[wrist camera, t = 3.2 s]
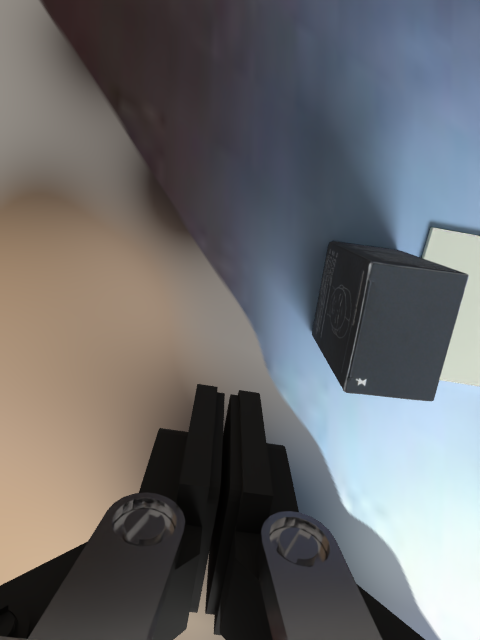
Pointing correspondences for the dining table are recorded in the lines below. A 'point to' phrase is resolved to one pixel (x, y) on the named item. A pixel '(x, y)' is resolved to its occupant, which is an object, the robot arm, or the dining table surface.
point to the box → (386, 320)
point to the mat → (476, 307)
